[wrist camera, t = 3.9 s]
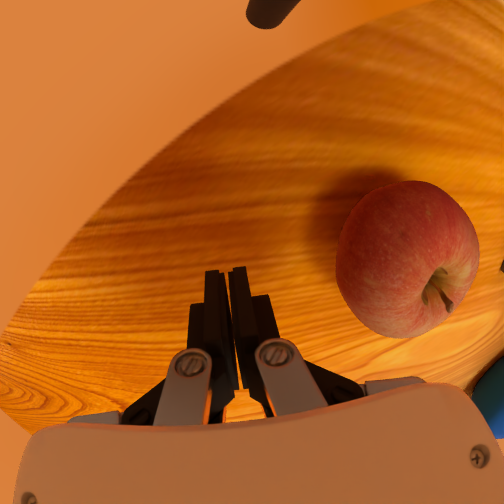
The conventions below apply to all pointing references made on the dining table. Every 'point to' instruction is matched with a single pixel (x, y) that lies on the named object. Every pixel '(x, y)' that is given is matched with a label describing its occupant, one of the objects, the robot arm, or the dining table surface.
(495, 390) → the vase
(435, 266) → the apple
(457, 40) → the dining table surface
